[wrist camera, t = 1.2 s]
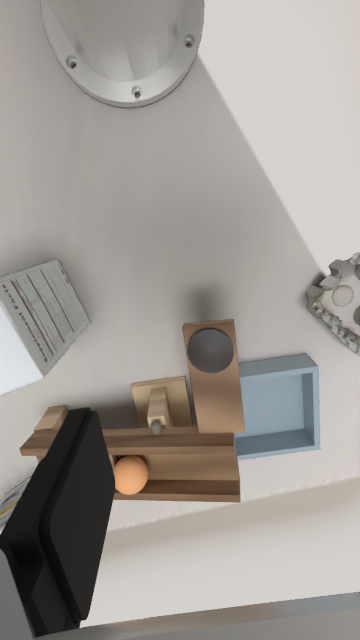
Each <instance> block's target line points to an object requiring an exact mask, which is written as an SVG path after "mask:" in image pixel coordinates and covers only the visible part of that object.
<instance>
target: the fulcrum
mask: <svg viewBox="0 0 360 640" xmlns="http://www.w3.org/2000/svg"><path fill="white" fill-rule="evenodd" d="M131 390H132V394H133V399H134V403H135V407H136V412H137V416H138V421H139V425H140V428H151V423H152V422H153V421H159V422H160V424H161V428H162V427H193V424H192V418H191V412H190V406H189V400H188V394H187V388H186V382H185V376H182V377H175V378H168V379H161V380H154V381H147V382H140V383H133V384H132V385H131Z"/></svg>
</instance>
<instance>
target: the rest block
mask: <svg viewBox="0 0 360 640" xmlns="http://www.w3.org/2000/svg"><path fill="white" fill-rule="evenodd" d="M67 414H68V410H67V406H66V405H63V406H56V407H49V408H48V410H47V411H46V413H45V414H44V416H43V417H42V419H41V420H40V422H39V423H38V425H37V426H36V428H35V429H34V432H35V431H48V430H59V429H60V427H61V425H62V424H63V422H64V420H65V418H66V416H67Z"/></svg>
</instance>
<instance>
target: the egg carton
mask: <svg viewBox="0 0 360 640" xmlns="http://www.w3.org/2000/svg"><path fill="white" fill-rule="evenodd" d="M329 268H330V270H331V275H329V276H327V277H326V278H325V279H324V280H323V281H322V282H321V283H320V284H319V285H321V286H322V287H316V286H313V285H312V286H311V287H310V288H309V289H308V290H307V291H306V294H307V296H308V304H307V306H306V307H307V309H308V310H309V311H310V312H311V313H312V314H313V315H314V316H317V317H318V318H322V319H323V320H324V321H325V322H326V323H327V324H328V327H329V328H330V330H331V331H332V332H334V334H336V335H337V336H338V337H339V339H340V340H341V341H342V343H343V344H344V345H345V346H347V347H348V348H349V349H350V350H352V351H353V352H355V353H357V354H358V355H360V336H358V335H356V334H355V333H353V332H351V331H349V330H348V329H344V328H343V327H342V321H341V320H339V317H337V316H334V315H332V314H330V313H328V312H327V311H326V310H325V309H324V307H323V306H322V304H321V300H322V297H323V296H324V295H325V291H330V290H333V289H335V288H336V287H337V286H338V285H339V284H340V281H344V280H346V279H348V278H350V277H351V276H353V275H354V274H356V276H357V278H358V279H359V280H360V253H356V254H354V255H353V256H352V258H350V259H348V260H345V261H341V260H335V261H334V262H333V263H331V264H330V265H329ZM353 297H354V292H353V290H352V288H351V287H349V286H346V285H343V286H339V287H337V288H336V289H335V290H334V292H333V294H332V301H333V303H334V304H335V305H338V306H346V305H348V304H349V303H350V302H351V301H352V299H353ZM354 320H355V322H356V323H357V324H359V325H360V307H358V308H357V309H356V311H355V313H354Z"/></svg>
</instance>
